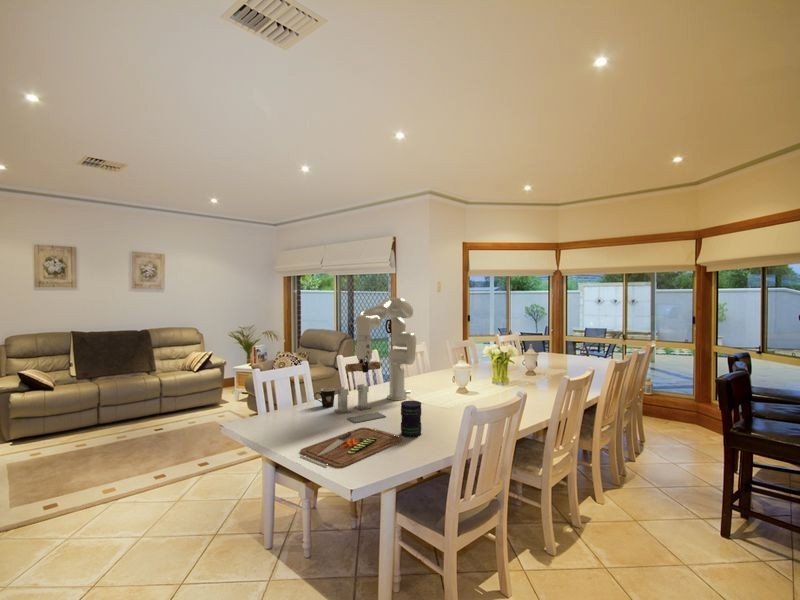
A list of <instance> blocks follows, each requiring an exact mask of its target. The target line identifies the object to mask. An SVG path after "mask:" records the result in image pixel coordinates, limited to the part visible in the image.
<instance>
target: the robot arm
mask: <svg viewBox="0 0 800 600" xmlns="http://www.w3.org/2000/svg"><path fill="white" fill-rule="evenodd" d="M413 314H414V308H413V306H412V305H411V304H410V303H409V301H407V300H406V299H404V298H402V297H387V298H385V299H384V300H383V301H381V302H380V303H379V304H378V305H376V306H373V307H370V308H367V309H364V310H363V311H361V312H359V314H358V315H357V316H356V318H355V324H356V349H355V350H356V351H355V352H356V359H357V361H358V363H363V371H362V373H363V374H364V373H369V370H368V365H369V362H371V360H372V358H373V355H372V354H373V352H372V342H371V337H372V336H371V335H372V334H371V332H372V331H371V329H377V328H379V327H380V326H381V324H382V319H386V318H388V316H389V318H390V321H391V323H392V330H391V331H392V333H391V344H392V346H393V347H397V348H392V349H390V350H389V351H388V354H387V358H388V364H389V365H388V366H389V394H387V396H386V397H387V399H388V400H391V401H403V400H404V401H405V400H406V399H407V398H408V396H407V394H409V395H410V394H411V393H412V392H411V390H405V368H404V366H403V365H409V366H411V365H413V364H414V363H415V361H416V354H417V353H416V351H417V350H416V349H417V337H416V334H415V333H413V332H409V331H408V332H406V330H407V329H406V328H407V326H406V322H405V320H404V319H410V318H412V316H413ZM398 347H399V348H398ZM402 348H405V349H402Z"/></svg>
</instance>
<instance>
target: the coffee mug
mask: <svg viewBox="0 0 800 600" xmlns="http://www.w3.org/2000/svg"><path fill="white" fill-rule="evenodd" d="M317 394H319V395H320V397H321V400H320V399H319V398H317V397H316V395H317ZM335 394H336V389H335V388H332V387H324V388H323V387H322V388H321V389H320V392H315V393H314V395H313V397H314V398H315V400H317V402H320V403H321V406H322V408H326V409H328V408H329V409H330V408H333V407H334V404H335V396H336V395H335Z"/></svg>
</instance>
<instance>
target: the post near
mask: <svg viewBox="0 0 800 600" xmlns="http://www.w3.org/2000/svg"><path fill="white" fill-rule="evenodd" d="M349 390H350V389H349V388H345V386H341V387H337V388H336V394H337V408H335V409H334V412H335V413H337V414H338V415H342V414H343V415H344V414H347V413H352V410H350V409H348V396H349Z"/></svg>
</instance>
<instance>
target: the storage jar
mask: <svg viewBox="0 0 800 600" xmlns="http://www.w3.org/2000/svg"><path fill="white" fill-rule="evenodd" d="M400 405H401V406H400V416H401V422H400V435H401V436H402V437H403V436H404V438H407V437H409V439H414V438H413V437H416V438H419V437H421V436H422V417H421V416H422V402H420V401H419V400H404V401H403V400H402V402H400ZM420 435H421V436H420ZM418 436H419V437H418Z"/></svg>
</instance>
